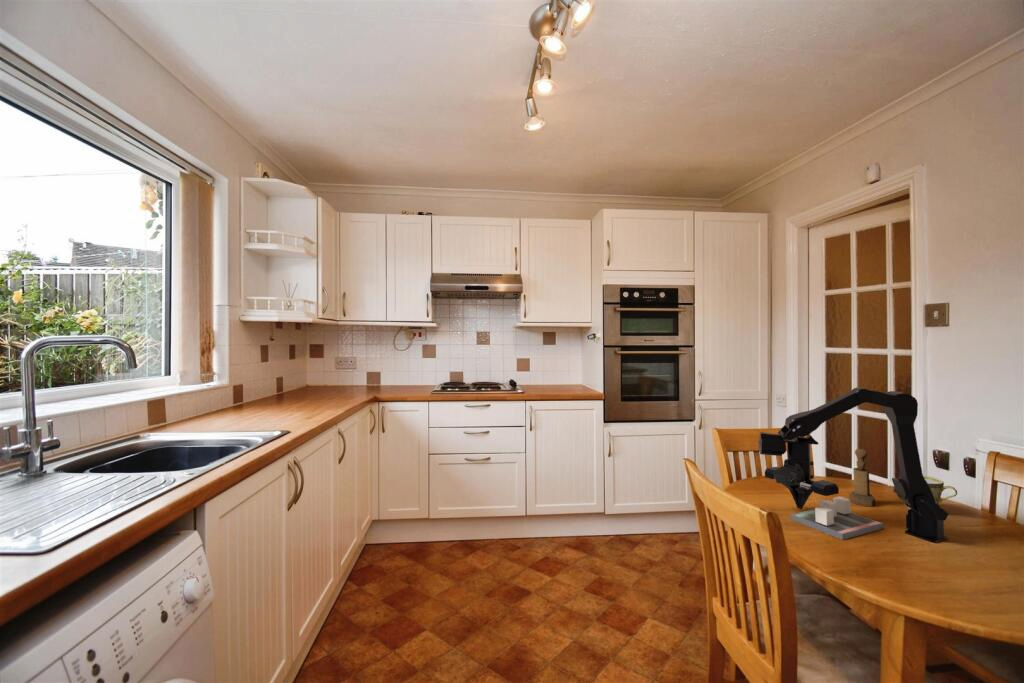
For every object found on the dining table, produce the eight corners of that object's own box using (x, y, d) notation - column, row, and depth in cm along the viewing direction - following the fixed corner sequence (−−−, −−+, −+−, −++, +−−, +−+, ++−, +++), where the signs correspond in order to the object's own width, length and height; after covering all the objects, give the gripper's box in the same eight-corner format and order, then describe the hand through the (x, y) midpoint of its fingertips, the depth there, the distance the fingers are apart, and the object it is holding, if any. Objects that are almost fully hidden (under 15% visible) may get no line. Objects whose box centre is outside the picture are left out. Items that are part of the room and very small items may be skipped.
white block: (850, 512, 122) (850, 499, 122) (844, 514, 121) (844, 501, 121) (839, 509, 124) (839, 496, 124) (833, 510, 123) (833, 497, 123)
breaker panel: (882, 528, 115) (882, 523, 115) (842, 539, 109) (842, 534, 109) (829, 510, 128) (829, 505, 128) (790, 519, 122) (790, 514, 122)
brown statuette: (845, 501, 135) (843, 447, 136) (855, 497, 138) (854, 445, 138) (869, 508, 129) (867, 452, 130) (879, 504, 132) (878, 450, 132)
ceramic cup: (894, 507, 130) (893, 476, 130) (907, 501, 134) (906, 471, 135) (951, 522, 118) (950, 488, 118) (964, 515, 123) (963, 483, 123)
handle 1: (836, 516, 119) (836, 502, 119) (830, 517, 118) (829, 504, 118) (825, 512, 122) (825, 499, 122) (819, 514, 121) (819, 500, 121)
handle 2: (833, 524, 114) (833, 510, 114) (826, 525, 113) (826, 511, 113) (822, 519, 117) (822, 506, 117) (815, 521, 116) (815, 507, 116)
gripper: (751, 452, 128) (752, 501, 128) (813, 468, 110) (814, 525, 110) (776, 449, 132) (777, 496, 132) (839, 464, 114) (840, 519, 114)
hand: (799, 508), depth 122 cm, fingers closed
